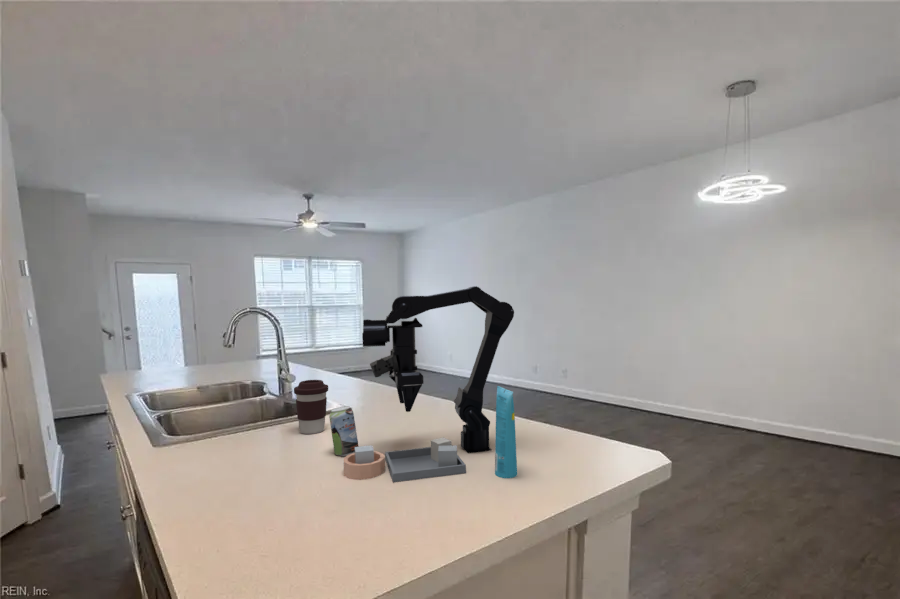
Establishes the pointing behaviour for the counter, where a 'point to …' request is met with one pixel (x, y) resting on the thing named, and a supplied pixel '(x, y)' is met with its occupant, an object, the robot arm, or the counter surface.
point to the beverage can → (343, 431)
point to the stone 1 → (364, 454)
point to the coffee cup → (311, 406)
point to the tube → (505, 435)
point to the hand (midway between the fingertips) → (405, 407)
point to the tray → (418, 465)
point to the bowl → (364, 467)
